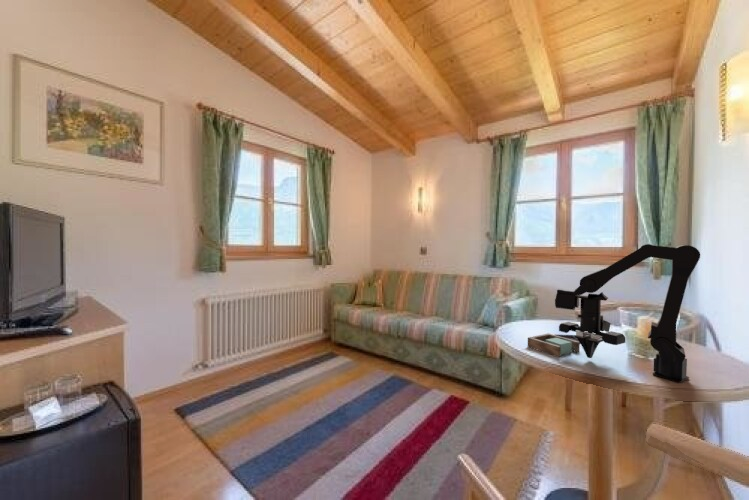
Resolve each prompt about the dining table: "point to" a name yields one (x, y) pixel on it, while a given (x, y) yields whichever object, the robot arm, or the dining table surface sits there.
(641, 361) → the dining table surface
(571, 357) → the dining table surface
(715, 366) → the dining table surface
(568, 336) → the bracket
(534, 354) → the dining table surface
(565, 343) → the pale green block
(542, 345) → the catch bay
